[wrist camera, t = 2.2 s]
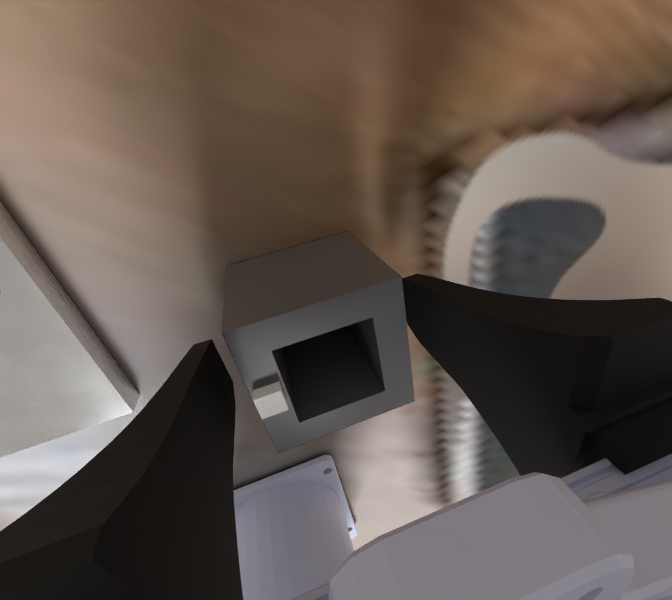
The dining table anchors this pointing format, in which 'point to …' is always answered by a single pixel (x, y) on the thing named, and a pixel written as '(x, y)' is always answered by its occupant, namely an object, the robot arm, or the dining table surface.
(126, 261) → the dining table surface
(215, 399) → the robot arm
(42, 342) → the shaft plate
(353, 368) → the hollow square box
